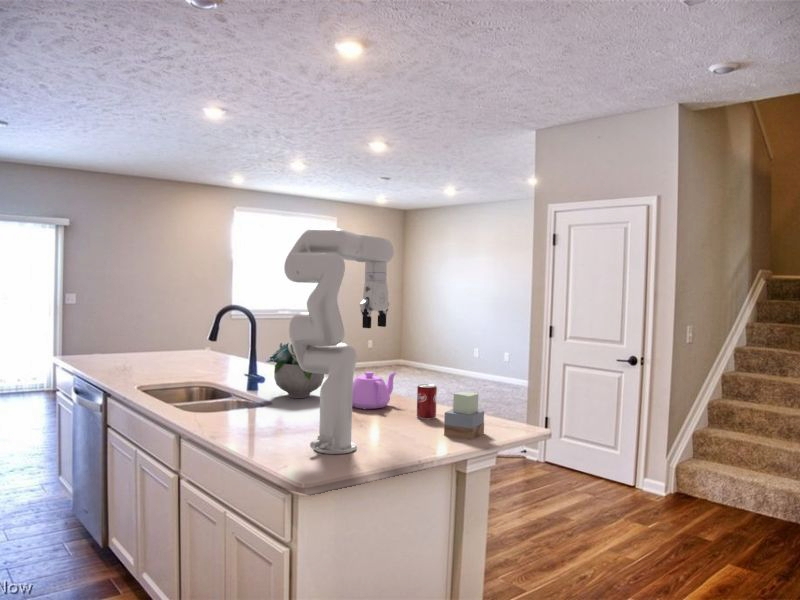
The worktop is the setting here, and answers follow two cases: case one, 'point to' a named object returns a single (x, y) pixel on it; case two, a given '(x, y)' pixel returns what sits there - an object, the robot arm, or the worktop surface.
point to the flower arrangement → (293, 373)
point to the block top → (464, 419)
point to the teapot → (371, 391)
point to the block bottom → (464, 431)
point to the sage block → (465, 402)
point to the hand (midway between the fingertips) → (374, 327)
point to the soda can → (426, 401)
